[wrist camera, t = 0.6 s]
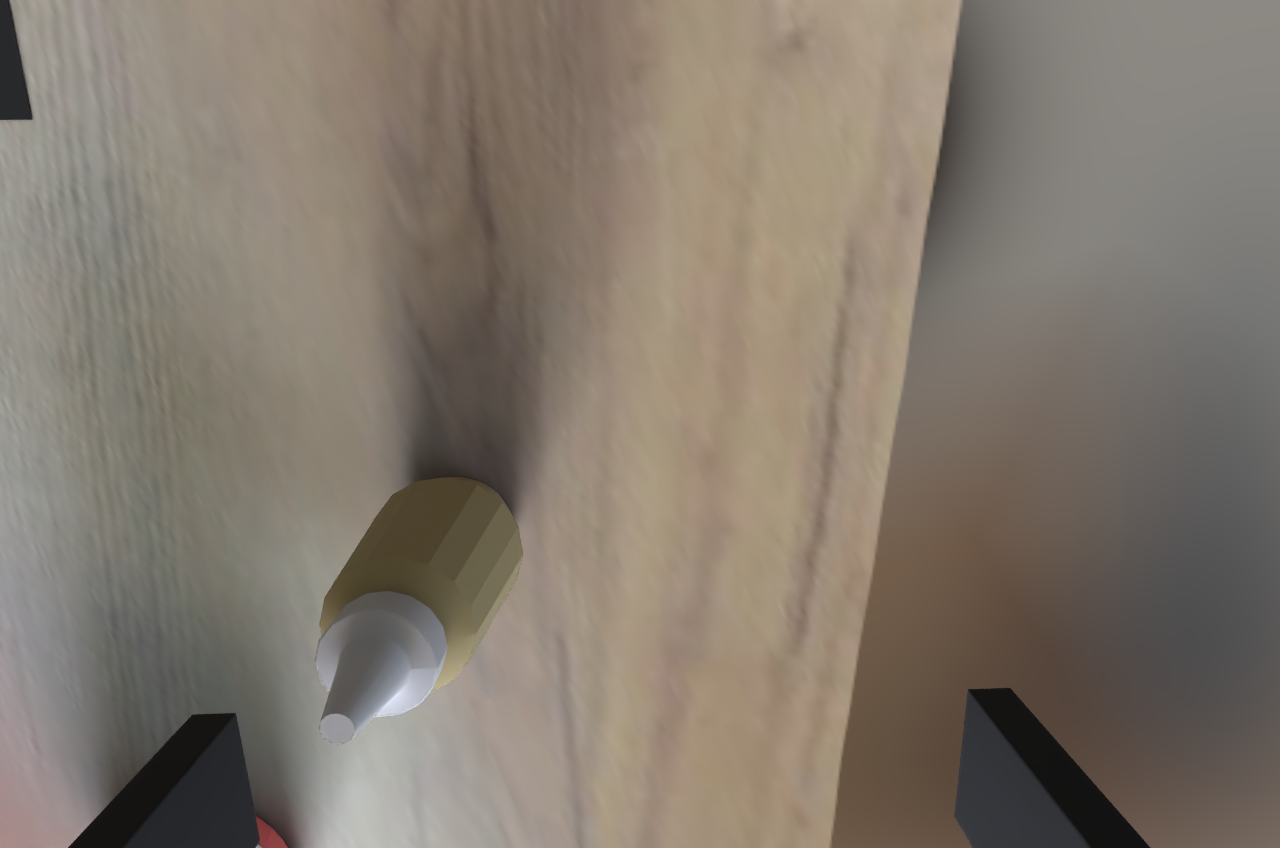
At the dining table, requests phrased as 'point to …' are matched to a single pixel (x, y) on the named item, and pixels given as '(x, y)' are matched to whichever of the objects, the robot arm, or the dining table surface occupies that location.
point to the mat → (11, 71)
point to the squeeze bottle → (414, 600)
